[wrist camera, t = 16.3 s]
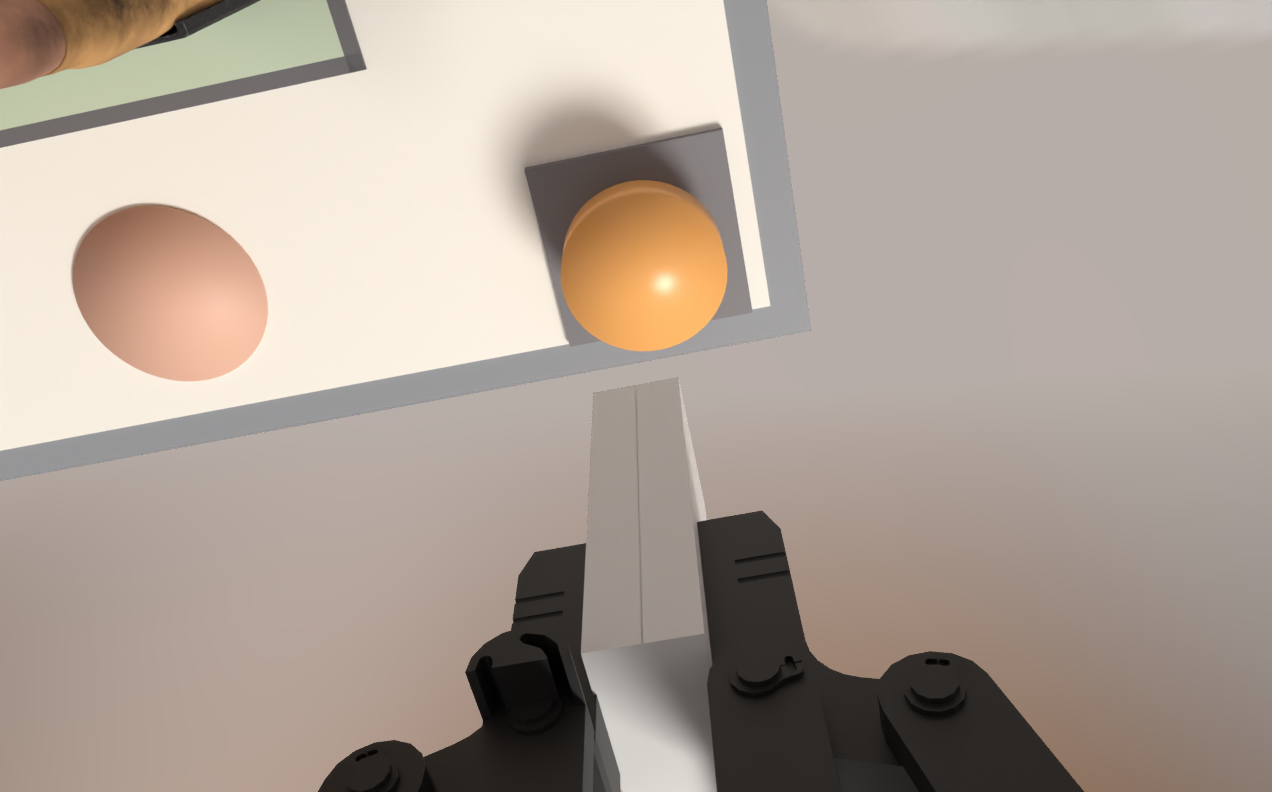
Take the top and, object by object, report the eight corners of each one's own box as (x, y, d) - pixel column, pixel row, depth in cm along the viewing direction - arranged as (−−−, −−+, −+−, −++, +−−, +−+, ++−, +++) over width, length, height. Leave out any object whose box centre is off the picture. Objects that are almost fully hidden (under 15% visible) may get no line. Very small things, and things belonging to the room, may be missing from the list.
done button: (545, 198, 26) (543, 214, 25) (708, 165, 26) (712, 180, 25) (582, 343, 28) (581, 364, 27) (734, 314, 28) (739, 335, 26)
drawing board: (-361, -106, 25) (-409, -101, 24) (711, -366, 22) (716, -376, 21) (-21, 469, 32) (-45, 493, 31) (806, 315, 30) (813, 335, 29)
